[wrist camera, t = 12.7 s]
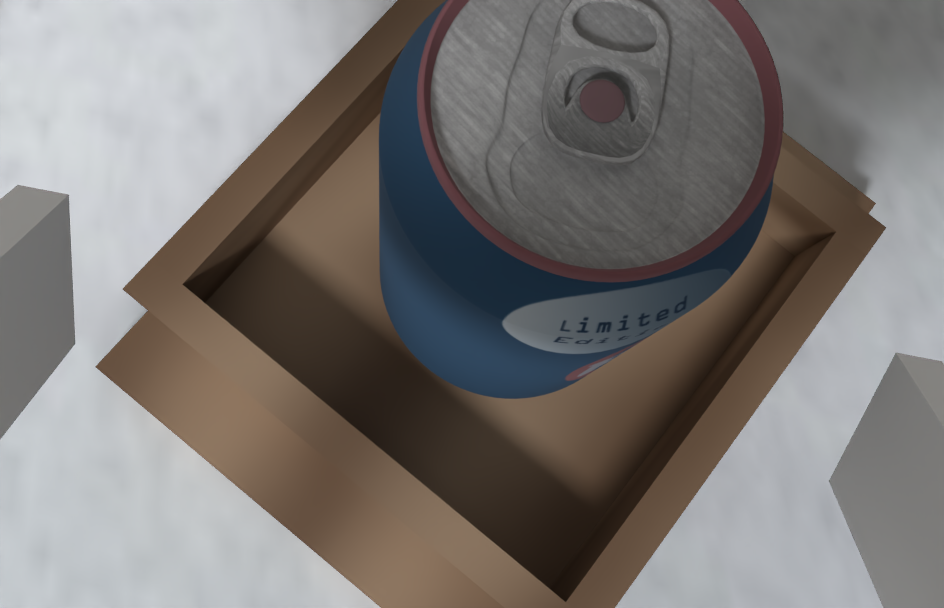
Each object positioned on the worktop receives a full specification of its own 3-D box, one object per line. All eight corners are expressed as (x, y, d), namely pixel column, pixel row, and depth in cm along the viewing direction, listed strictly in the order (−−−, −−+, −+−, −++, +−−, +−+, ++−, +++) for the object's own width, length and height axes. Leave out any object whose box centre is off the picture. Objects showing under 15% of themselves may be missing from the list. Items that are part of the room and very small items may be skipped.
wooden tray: (858, 213, 28) (924, 173, 25) (501, 704, 24) (521, 738, 21) (508, -59, 29) (525, -133, 26) (106, 372, 25) (62, 351, 21)
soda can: (601, 427, 25) (795, 363, 13) (354, 374, 25) (328, 259, 13) (641, 194, 26) (845, -47, 15) (409, 141, 26) (431, -149, 14)
